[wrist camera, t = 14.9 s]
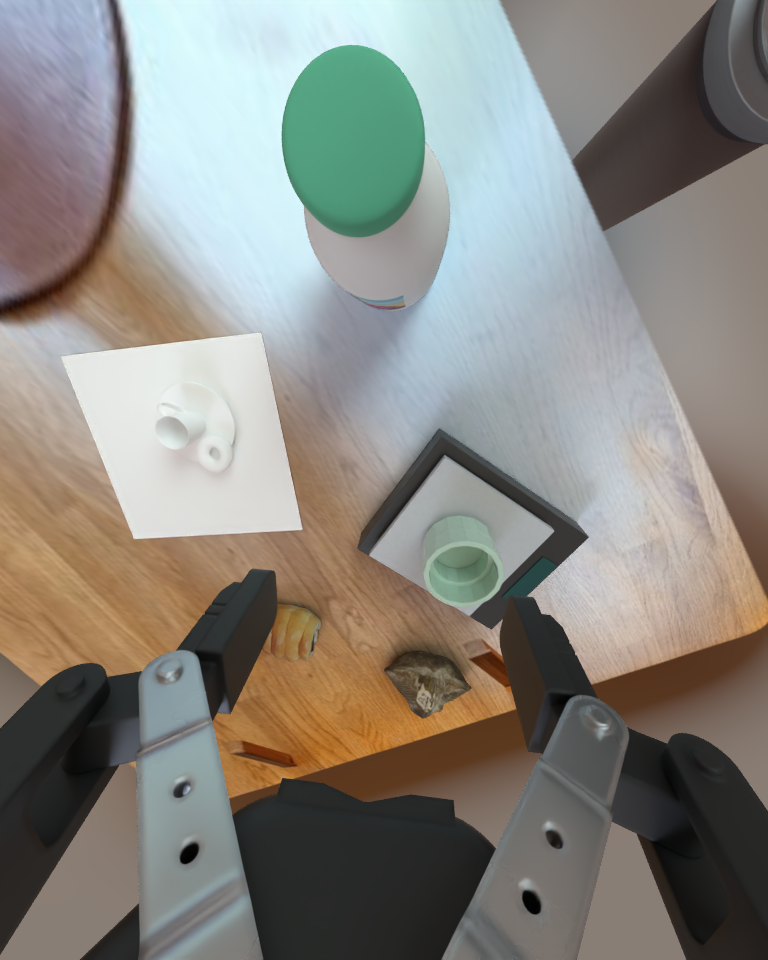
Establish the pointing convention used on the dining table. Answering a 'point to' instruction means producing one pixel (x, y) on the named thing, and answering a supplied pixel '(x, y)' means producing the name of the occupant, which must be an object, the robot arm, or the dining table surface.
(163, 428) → the white plastic piece
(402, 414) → the dining table surface
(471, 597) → the cup
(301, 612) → the pastry
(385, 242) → the milk bottle
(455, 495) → the scale
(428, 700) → the fossilized seashell
